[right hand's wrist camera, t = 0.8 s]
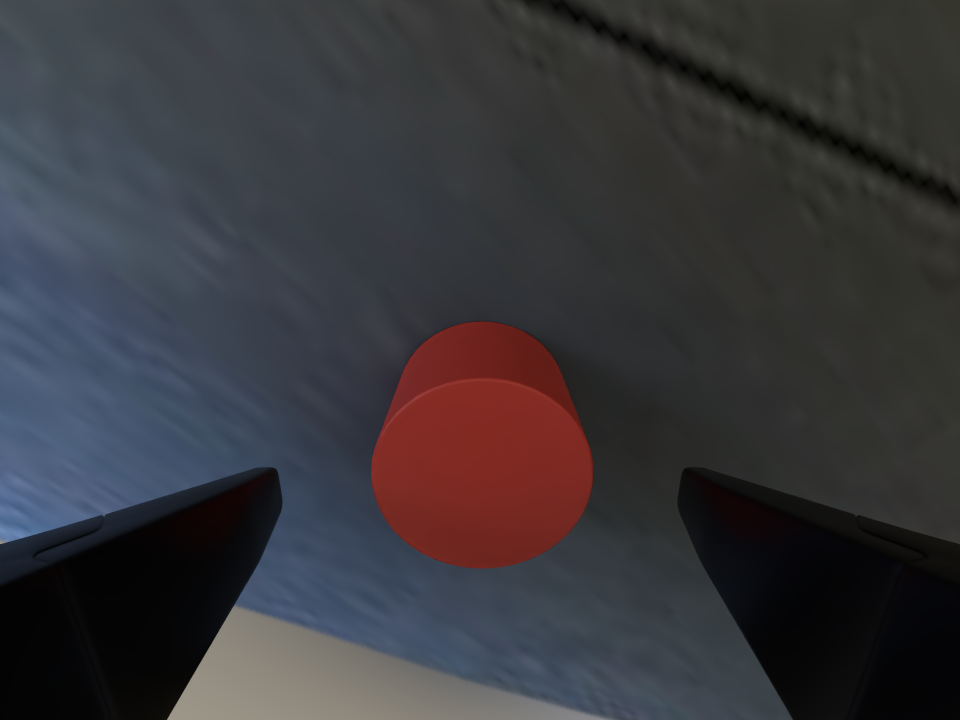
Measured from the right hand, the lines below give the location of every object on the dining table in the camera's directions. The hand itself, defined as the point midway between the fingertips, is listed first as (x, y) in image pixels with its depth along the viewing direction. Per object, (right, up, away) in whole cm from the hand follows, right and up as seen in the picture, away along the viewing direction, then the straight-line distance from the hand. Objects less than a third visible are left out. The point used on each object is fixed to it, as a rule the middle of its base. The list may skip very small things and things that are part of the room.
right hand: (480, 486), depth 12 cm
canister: (0, +1, +4) cm, 5 cm away
